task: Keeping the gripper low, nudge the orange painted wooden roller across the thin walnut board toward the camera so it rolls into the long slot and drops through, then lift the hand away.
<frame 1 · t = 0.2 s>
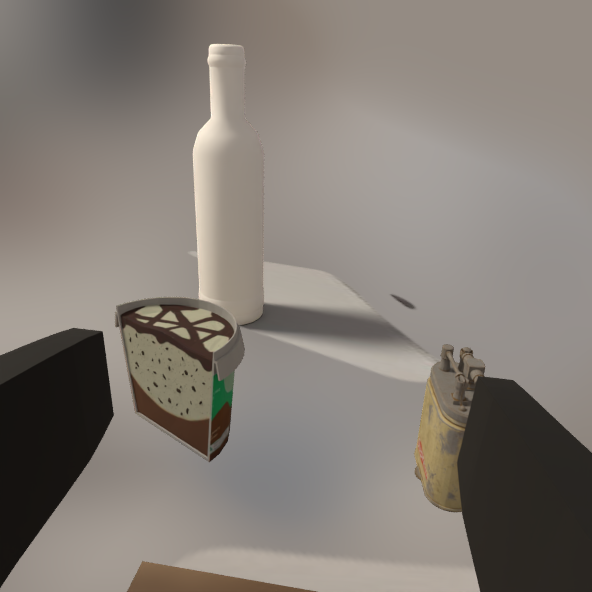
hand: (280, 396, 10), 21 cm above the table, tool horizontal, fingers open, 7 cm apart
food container: (198, 420, 43), on the table
bottle: (232, 314, 62), on the table
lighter: (439, 478, 38), on the table
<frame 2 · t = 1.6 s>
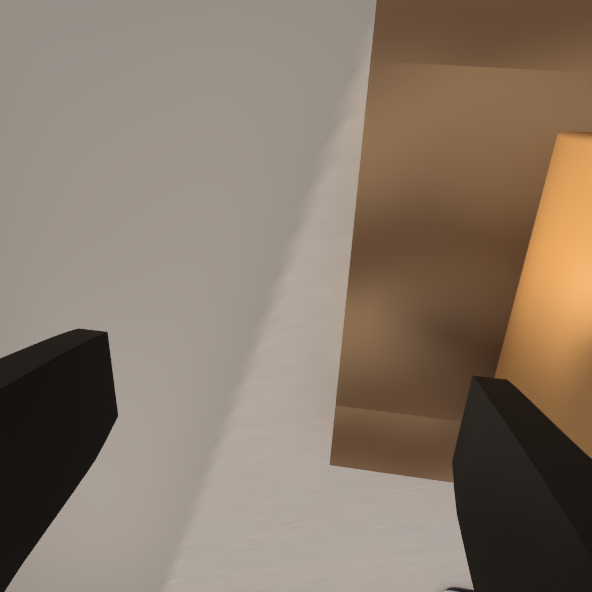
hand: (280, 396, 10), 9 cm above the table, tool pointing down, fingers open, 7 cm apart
roller: (591, 307, 14), point 3 cm above the table, touching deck
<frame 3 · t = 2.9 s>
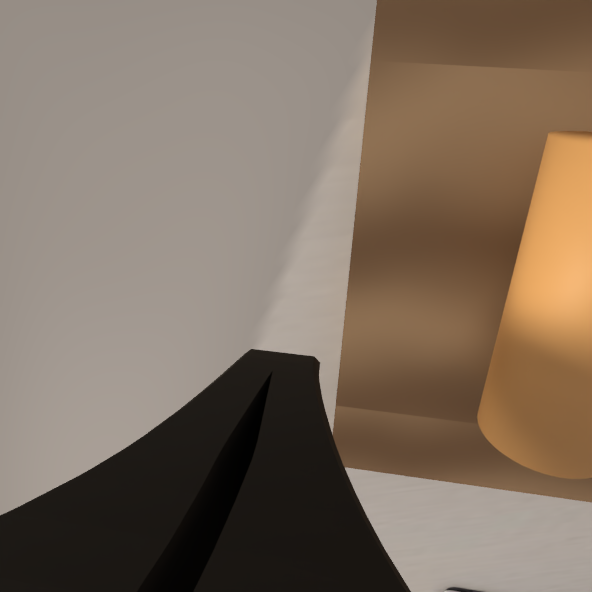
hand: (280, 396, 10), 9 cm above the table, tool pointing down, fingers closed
roller: (583, 306, 14), point 3 cm above the table, tilted 10°, touching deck
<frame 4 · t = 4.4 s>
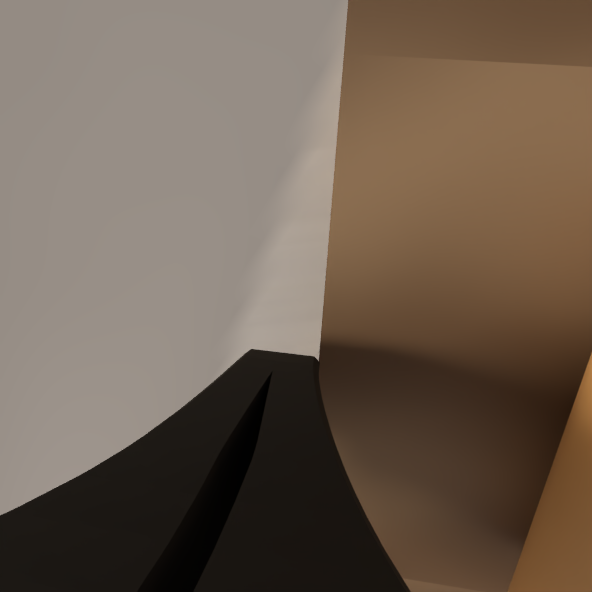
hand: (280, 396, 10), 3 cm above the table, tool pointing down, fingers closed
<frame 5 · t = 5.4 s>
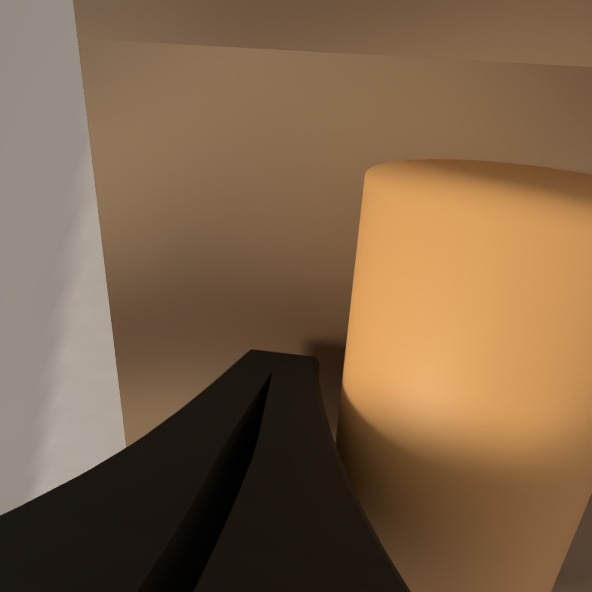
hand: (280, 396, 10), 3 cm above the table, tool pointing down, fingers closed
roller: (453, 451, 8), point 3 cm above the table, touching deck
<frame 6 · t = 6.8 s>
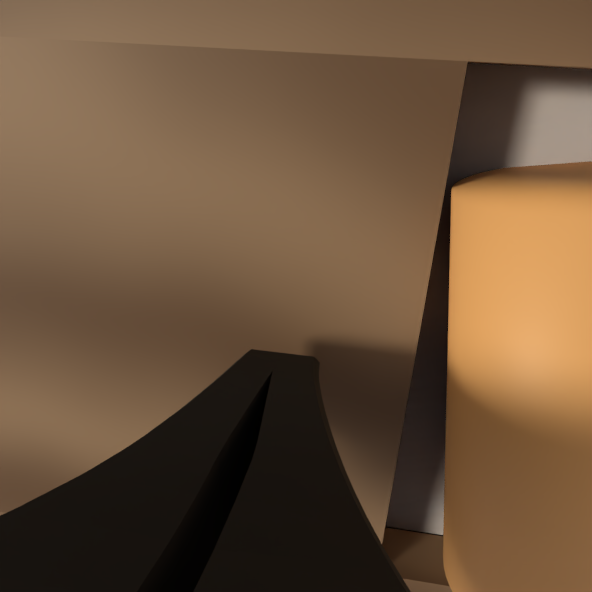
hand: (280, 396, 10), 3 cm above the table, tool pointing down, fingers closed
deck: (353, 338, 12), on the table
roller: (552, 413, 10), point 2 cm above the table, tilted 29°
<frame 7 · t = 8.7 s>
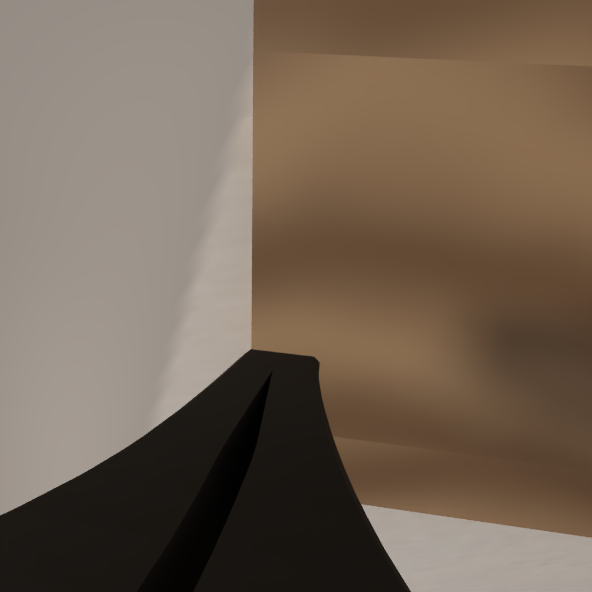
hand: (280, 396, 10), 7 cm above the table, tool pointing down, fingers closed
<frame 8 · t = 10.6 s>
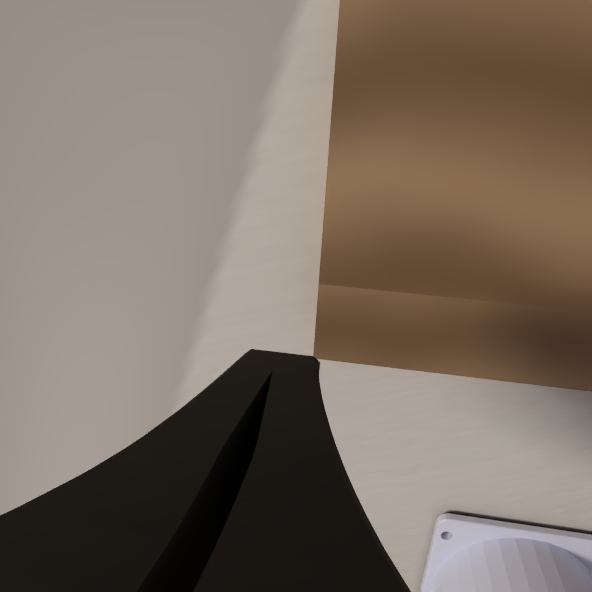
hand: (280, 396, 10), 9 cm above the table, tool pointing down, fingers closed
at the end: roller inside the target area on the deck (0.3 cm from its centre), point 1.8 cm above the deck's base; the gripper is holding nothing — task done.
